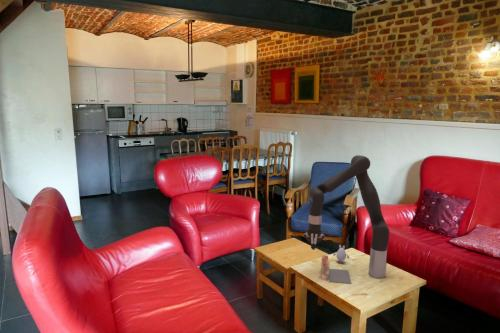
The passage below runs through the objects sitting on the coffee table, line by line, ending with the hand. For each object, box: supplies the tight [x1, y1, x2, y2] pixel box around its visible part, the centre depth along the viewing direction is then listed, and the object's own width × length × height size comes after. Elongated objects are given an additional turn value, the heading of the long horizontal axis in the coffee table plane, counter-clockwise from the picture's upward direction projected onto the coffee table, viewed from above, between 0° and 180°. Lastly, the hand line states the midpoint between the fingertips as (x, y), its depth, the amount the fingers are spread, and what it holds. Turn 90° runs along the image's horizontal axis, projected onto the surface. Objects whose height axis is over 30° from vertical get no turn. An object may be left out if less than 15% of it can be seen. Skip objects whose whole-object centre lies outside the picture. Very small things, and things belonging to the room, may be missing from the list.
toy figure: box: [332, 244, 350, 264], centre depth 232 cm, size 11×6×12 cm, turn 65°
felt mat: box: [328, 268, 352, 285], centre depth 216 cm, size 13×16×1 cm
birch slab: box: [320, 255, 330, 281], centre depth 216 cm, size 4×12×10 cm, turn 172°
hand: (313, 249), depth 215 cm, fingers closed
